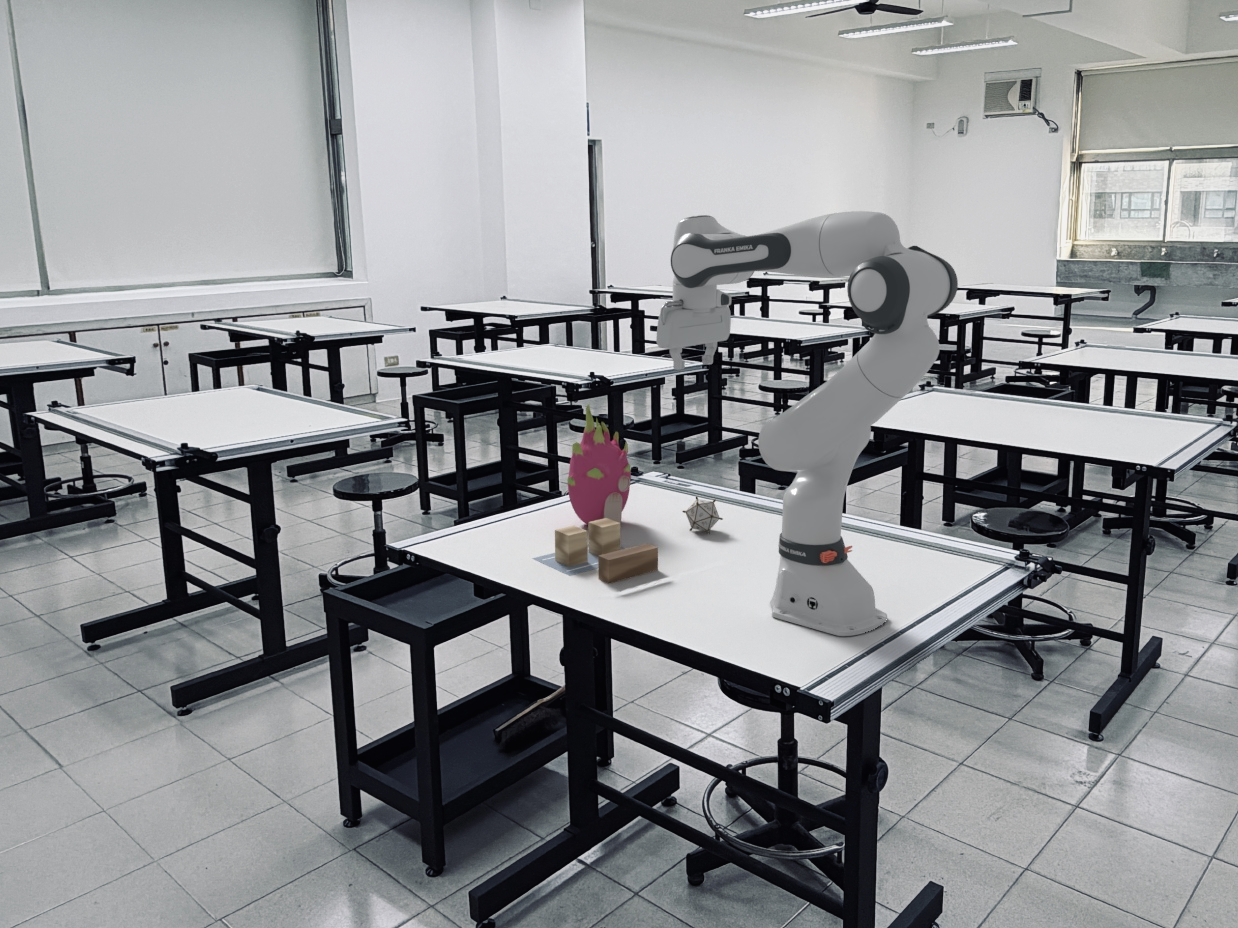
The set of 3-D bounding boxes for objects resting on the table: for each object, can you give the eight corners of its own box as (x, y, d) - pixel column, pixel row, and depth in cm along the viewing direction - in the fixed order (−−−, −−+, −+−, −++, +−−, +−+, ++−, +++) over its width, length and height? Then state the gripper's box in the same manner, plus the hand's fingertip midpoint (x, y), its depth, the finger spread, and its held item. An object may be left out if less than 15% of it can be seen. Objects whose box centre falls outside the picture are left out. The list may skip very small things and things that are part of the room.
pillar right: (620, 553, 226) (620, 523, 224) (602, 558, 223) (602, 527, 221) (606, 547, 230) (606, 517, 228) (588, 552, 227) (588, 522, 225)
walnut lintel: (657, 574, 216) (658, 547, 214) (608, 588, 208) (608, 560, 207) (647, 569, 218) (647, 543, 217) (598, 583, 211) (598, 555, 209)
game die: (709, 545, 246) (735, 513, 244) (693, 541, 239) (720, 509, 237) (685, 520, 250) (710, 489, 248) (669, 516, 243) (695, 484, 241)
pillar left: (587, 561, 221) (587, 530, 219) (568, 566, 217) (568, 535, 216) (574, 556, 224) (573, 525, 223) (555, 560, 221) (554, 529, 220)
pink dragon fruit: (587, 540, 237) (586, 413, 230) (553, 527, 248) (551, 405, 240) (646, 526, 248) (646, 404, 241) (611, 513, 258) (610, 396, 251)
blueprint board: (643, 559, 225) (643, 555, 224) (569, 579, 212) (569, 575, 212) (604, 543, 235) (604, 540, 235) (532, 561, 223) (532, 558, 223)
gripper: (674, 302, 197) (673, 374, 200) (736, 296, 212) (734, 362, 215) (649, 301, 201) (648, 371, 204) (712, 294, 216) (710, 360, 219)
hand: (693, 366), depth 210 cm, fingers open, 8 cm apart
